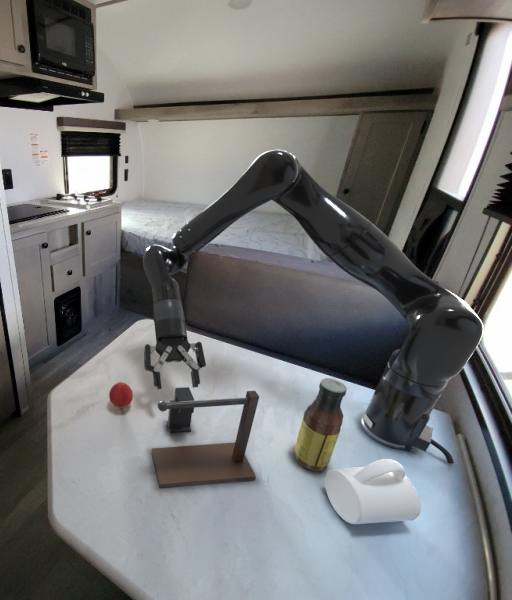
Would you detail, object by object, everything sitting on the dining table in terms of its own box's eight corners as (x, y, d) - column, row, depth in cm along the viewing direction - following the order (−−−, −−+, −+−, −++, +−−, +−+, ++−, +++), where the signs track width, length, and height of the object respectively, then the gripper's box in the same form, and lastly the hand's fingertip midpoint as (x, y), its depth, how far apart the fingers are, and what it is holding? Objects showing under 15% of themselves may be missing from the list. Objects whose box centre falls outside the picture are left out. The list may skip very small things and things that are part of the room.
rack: (255, 480, 63) (275, 409, 54) (157, 488, 61) (163, 416, 53) (237, 445, 70) (253, 378, 62) (149, 452, 69) (153, 384, 60)
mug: (319, 487, 61) (338, 443, 56) (371, 484, 62) (394, 440, 56) (351, 535, 54) (376, 489, 48) (409, 531, 54) (440, 485, 49)
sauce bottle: (322, 451, 68) (352, 377, 60) (330, 477, 63) (364, 400, 54) (288, 443, 70) (312, 370, 62) (293, 467, 65) (320, 392, 56)
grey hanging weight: (166, 423, 76) (169, 385, 71) (187, 421, 76) (192, 384, 71) (172, 441, 71) (176, 402, 66) (194, 440, 71) (199, 401, 66)
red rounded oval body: (105, 411, 79) (105, 386, 76) (114, 396, 84) (114, 371, 80) (128, 418, 77) (128, 392, 74) (135, 401, 82) (136, 377, 78)
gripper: (143, 317, 75) (149, 389, 70) (202, 315, 76) (213, 385, 71) (139, 325, 82) (144, 391, 77) (193, 323, 83) (202, 387, 78)
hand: (177, 388), depth 74 cm, fingers open, 8 cm apart
